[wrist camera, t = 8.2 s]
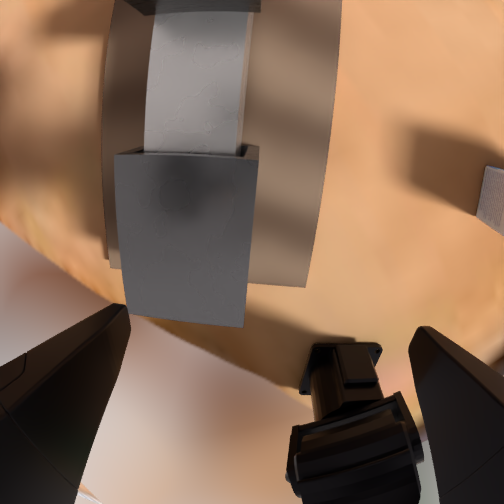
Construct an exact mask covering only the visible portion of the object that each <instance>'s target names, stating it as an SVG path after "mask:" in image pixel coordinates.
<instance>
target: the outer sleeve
mask: <svg viewBox="0 0 504 504" xmlns="http://www.w3.org/2000/svg"><path fill="white" fill-rule="evenodd" d="M259 149H260V146H251V145H241V154H240V157H237V156H222V155H206V154H183V153H144V146H140V147H137V148H134V149H131V150H127V151H124V152H121V153H118V154H115V155H114V179H115V202H116V218H117V231H118V242H119V251H120V260H121V269H122V276H123V284H124V291H125V297H126V304H127V309H128V314H134V315H141V316H147V317H154V318H161V319H168V320H176V321H183V322H191V323H200V324H209V325H218V326H228V327H238V328H243V326H244V315H245V304H246V293H247V283H248V272H249V261H250V250H251V240H252V229H253V218H254V208H255V197H256V187H257V176H258V165H259Z"/></svg>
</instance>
